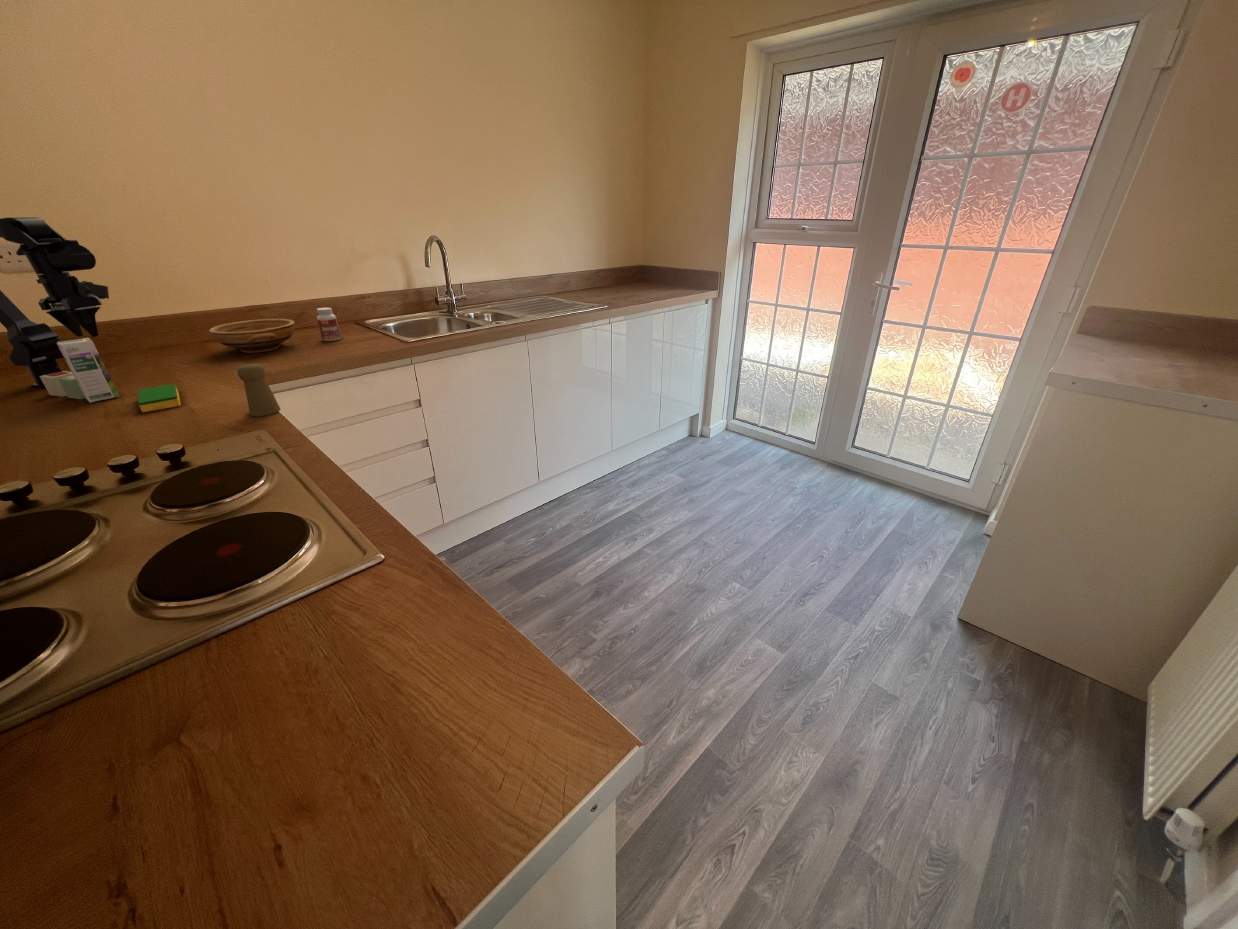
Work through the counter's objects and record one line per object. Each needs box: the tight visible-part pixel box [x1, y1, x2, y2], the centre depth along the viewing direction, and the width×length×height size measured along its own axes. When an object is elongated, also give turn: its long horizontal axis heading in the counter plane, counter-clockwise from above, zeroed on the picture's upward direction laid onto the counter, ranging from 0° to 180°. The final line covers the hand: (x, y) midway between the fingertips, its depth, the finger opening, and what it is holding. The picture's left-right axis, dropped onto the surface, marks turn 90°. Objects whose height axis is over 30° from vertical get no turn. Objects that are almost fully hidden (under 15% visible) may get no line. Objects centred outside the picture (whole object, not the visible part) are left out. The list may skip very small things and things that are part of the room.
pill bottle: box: [316, 307, 342, 342], centre depth 181 cm, size 6×6×11 cm
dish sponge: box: [137, 383, 182, 413], centre depth 122 cm, size 7×14×2 cm, turn 40°
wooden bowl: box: [208, 318, 295, 354], centre depth 171 cm, size 30×24×8 cm
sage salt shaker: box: [237, 363, 281, 417], centre depth 113 cm, size 6×6×11 cm
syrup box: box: [57, 337, 120, 404], centre depth 123 cm, size 6×6×14 cm
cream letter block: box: [40, 370, 73, 398], centre depth 129 cm, size 5×5×5 cm
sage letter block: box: [59, 375, 86, 400], centre depth 127 cm, size 5×5×5 cm
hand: (87, 336), depth 131 cm, fingers open, 9 cm apart
